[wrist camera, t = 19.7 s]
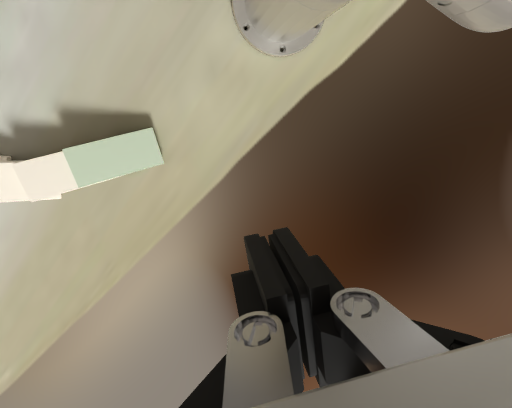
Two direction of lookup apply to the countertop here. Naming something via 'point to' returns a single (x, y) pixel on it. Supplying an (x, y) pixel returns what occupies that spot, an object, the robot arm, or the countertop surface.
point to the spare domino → (113, 157)
